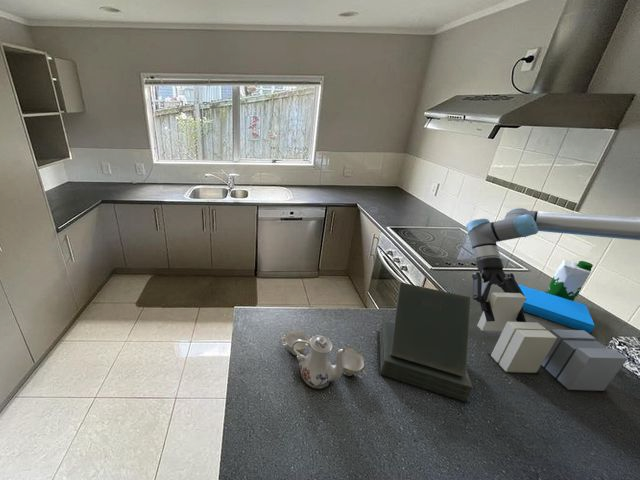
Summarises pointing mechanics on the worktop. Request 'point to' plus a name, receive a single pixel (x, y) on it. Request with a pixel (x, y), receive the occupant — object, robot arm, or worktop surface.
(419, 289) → the dark grey display stand
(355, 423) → the worktop surface
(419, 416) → the worktop surface
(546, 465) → the worktop surface
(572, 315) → the book
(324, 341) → the chinaware
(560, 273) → the milk carton
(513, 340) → the white books
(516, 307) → the thin white book
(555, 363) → the grey books
